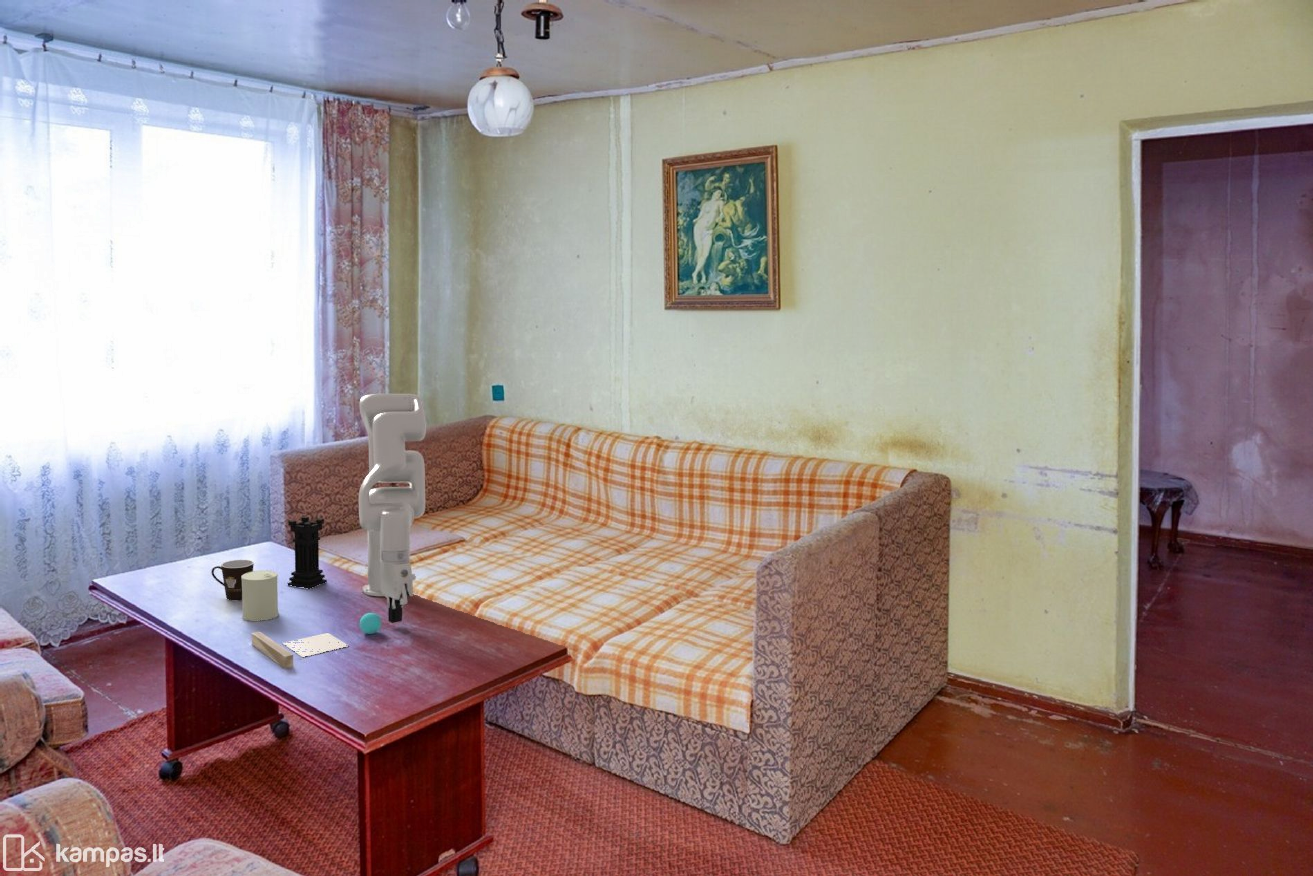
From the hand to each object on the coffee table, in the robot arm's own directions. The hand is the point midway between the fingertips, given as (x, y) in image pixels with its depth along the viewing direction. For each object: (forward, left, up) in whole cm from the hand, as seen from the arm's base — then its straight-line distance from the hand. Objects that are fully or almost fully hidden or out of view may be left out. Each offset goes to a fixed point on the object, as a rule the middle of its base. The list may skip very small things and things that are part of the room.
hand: (395, 621), depth 250 cm
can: (+24, -30, -2) cm, 39 cm away
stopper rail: (+33, 0, -2) cm, 33 cm away
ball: (+7, +1, +1) cm, 8 cm away
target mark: (+22, 0, -2) cm, 22 cm away
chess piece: (+2, -50, -2) cm, 50 cm away
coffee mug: (+23, -51, -2) cm, 56 cm away
